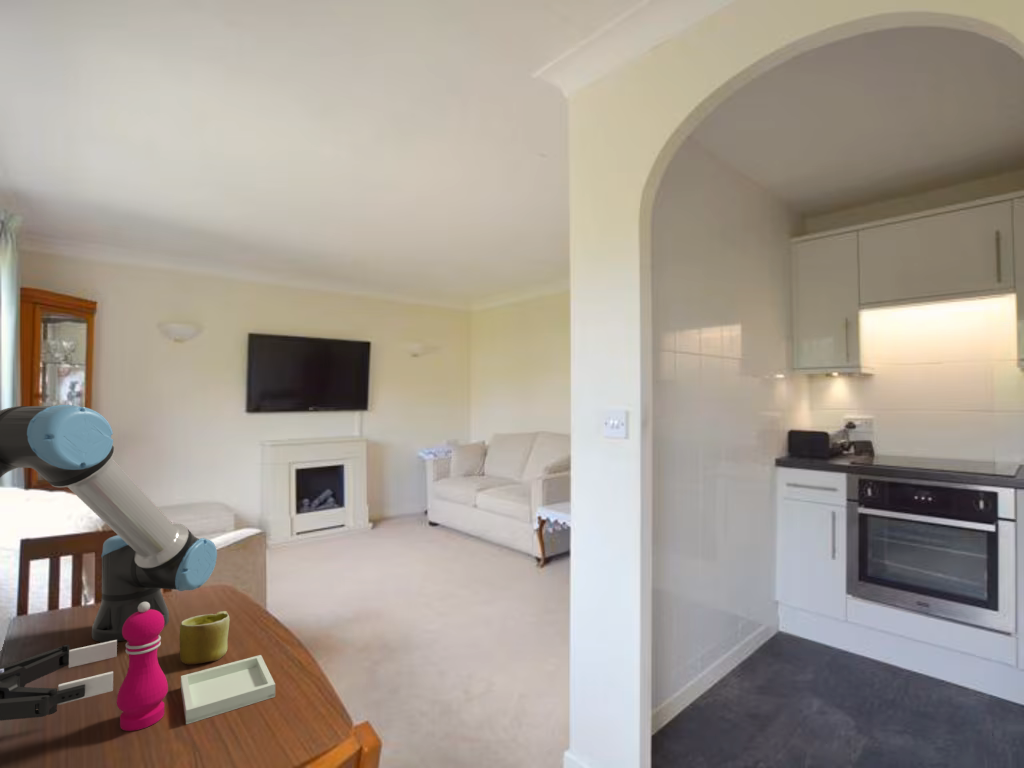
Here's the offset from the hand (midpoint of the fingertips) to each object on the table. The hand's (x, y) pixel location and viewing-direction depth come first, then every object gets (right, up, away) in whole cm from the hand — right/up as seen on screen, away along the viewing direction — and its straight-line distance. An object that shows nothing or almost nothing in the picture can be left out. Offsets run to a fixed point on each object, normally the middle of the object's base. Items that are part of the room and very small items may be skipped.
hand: (115, 663), depth 88 cm
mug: (+1, -12, +26) cm, 29 cm away
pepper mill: (+3, -11, +2) cm, 12 cm away
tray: (+13, -11, +11) cm, 20 cm away
